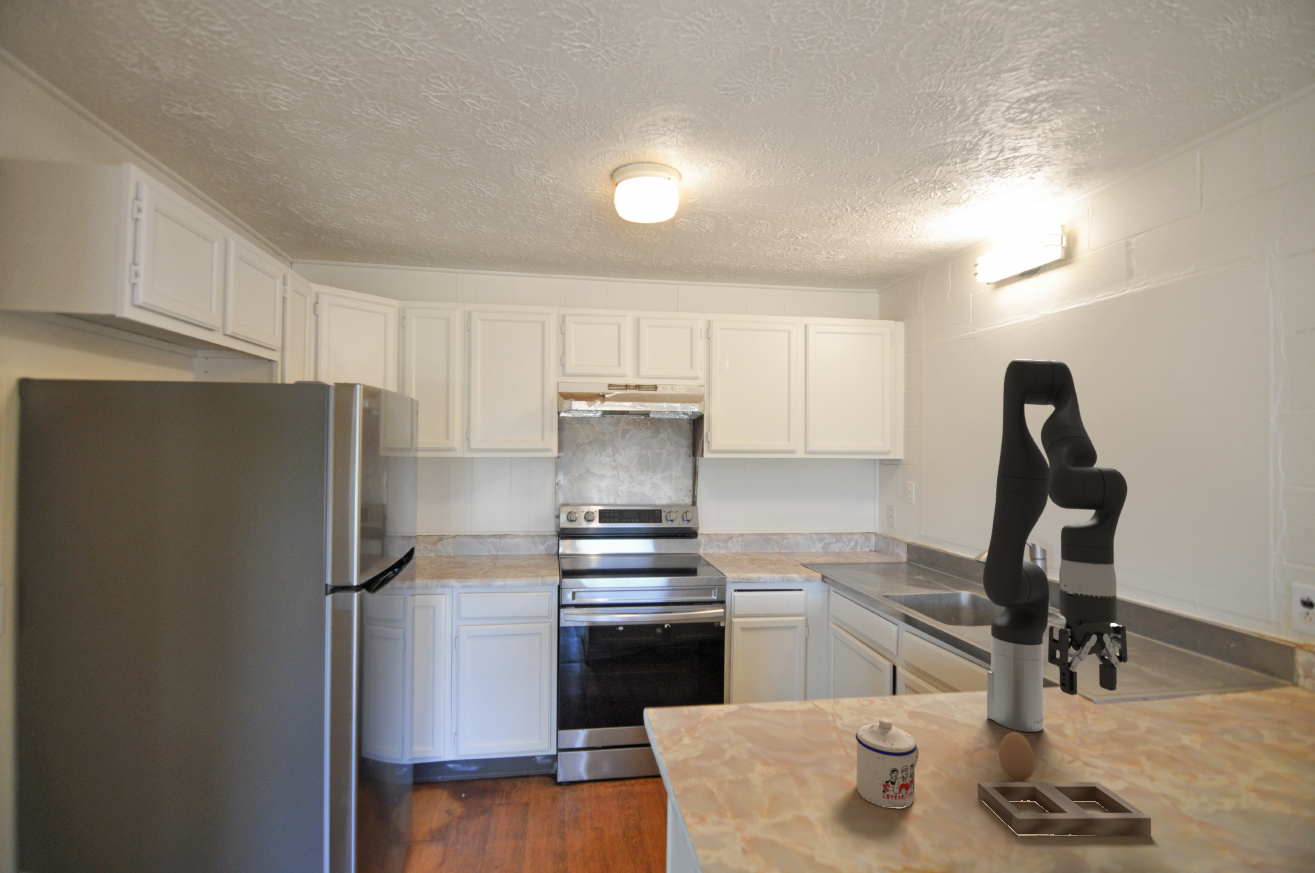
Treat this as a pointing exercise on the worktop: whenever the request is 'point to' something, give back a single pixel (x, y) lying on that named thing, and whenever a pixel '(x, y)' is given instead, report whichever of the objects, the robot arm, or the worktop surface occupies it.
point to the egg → (1016, 757)
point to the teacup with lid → (886, 764)
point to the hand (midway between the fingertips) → (1088, 691)
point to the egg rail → (1064, 809)
